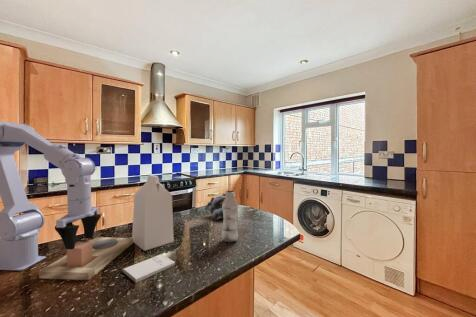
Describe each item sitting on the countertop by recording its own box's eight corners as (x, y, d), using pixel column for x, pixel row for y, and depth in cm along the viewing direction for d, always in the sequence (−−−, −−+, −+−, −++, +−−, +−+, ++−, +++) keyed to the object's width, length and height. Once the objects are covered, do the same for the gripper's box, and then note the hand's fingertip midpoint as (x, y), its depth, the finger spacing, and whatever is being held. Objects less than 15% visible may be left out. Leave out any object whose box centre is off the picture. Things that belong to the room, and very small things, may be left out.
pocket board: (39, 278, 61) (38, 270, 61) (97, 242, 85) (97, 236, 85) (88, 279, 61) (88, 271, 60) (132, 243, 84) (132, 237, 84)
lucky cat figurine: (210, 221, 111) (203, 195, 116) (213, 223, 122) (207, 199, 127) (238, 213, 113) (231, 187, 117) (239, 215, 124) (232, 192, 129)
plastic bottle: (241, 240, 89) (242, 191, 88) (229, 245, 84) (230, 193, 83) (230, 236, 93) (230, 189, 92) (218, 240, 88) (218, 191, 87)
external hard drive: (122, 273, 65) (160, 258, 74) (135, 284, 60) (175, 266, 69) (122, 268, 65) (160, 253, 74) (135, 278, 60) (175, 261, 69)
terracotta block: (66, 271, 65) (66, 248, 64) (78, 263, 69) (78, 241, 69) (81, 272, 64) (81, 248, 64) (92, 264, 69) (92, 242, 69)
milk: (131, 240, 87) (131, 175, 86) (159, 233, 95) (159, 173, 94) (144, 250, 79) (144, 178, 78) (173, 241, 87) (174, 176, 86)
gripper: (73, 204, 59) (74, 254, 59) (107, 193, 73) (107, 234, 74) (47, 204, 59) (48, 254, 59) (86, 193, 73) (87, 233, 74)
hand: (80, 243), depth 66 cm, fingers open, 7 cm apart
